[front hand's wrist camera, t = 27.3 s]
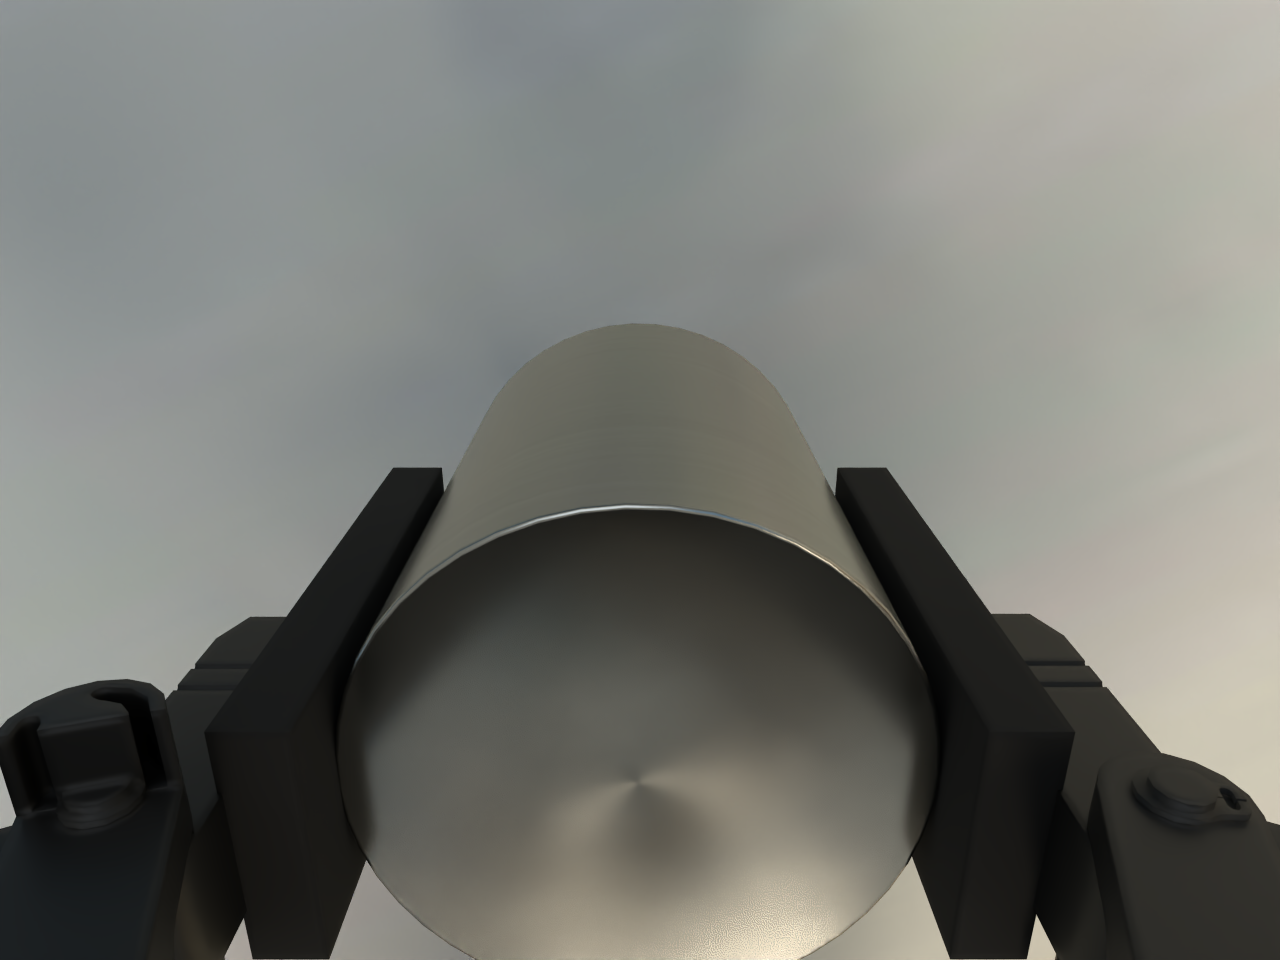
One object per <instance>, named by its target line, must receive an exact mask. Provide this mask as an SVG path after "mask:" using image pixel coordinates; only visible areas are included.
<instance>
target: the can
mask: <svg viewBox="0 0 1280 960" xmlns="http://www.w3.org/2000/svg"><path fill="white" fill-rule="evenodd" d="M940 754H941V735H940V728H939V721H938V713H937V706H936V702H935V699H934V696H933V693H932V689H931V686H930V683H929V680H928V677H927V673H926V671H925V669H924V667H923V665H922V663H921V661H920V659H919V657H918V655H917V653H916V651H915V649H914V647H913V645H912V643H911V641H910V639H909V637H908V635H907V633H906V631H905V629H904V627H903V625H902V624H901V622H900V620H899V618H898V616H897V614H896V612H895V610H894V608H893V606H892V604H891V603H890V601H889V599H888V597H887V595H886V593H885V591H884V589H883V587H882V585H881V583H880V582H879V580H878V578H877V576H876V574H875V572H874V570H873V568H872V566H871V564H870V562H869V561H868V559H867V557H866V555H865V553H864V551H863V549H862V547H861V545H860V543H859V541H858V539H857V538H856V536H855V534H854V532H853V530H852V528H851V526H850V524H849V522H848V520H847V518H846V517H845V515H844V513H843V511H842V509H841V507H840V505H839V503H838V501H837V499H836V497H835V496H834V494H833V492H832V490H831V488H830V486H829V484H828V482H827V480H826V478H825V476H824V475H823V473H822V471H821V469H820V467H819V465H818V463H817V461H816V459H815V457H814V455H813V453H812V452H811V450H810V448H809V446H808V444H807V442H806V440H805V438H804V436H803V434H802V432H801V431H800V429H799V427H798V425H797V423H796V421H795V419H794V417H793V415H792V413H791V411H790V410H789V408H788V406H787V404H786V403H785V401H784V400H783V398H782V397H781V395H780V394H779V392H778V391H777V390H776V388H775V387H774V386H773V385H772V384H771V382H770V381H769V380H768V379H767V378H766V377H765V376H764V375H763V374H762V373H761V372H760V371H759V370H758V369H757V368H756V367H755V366H753V365H752V364H751V363H750V362H749V361H747V360H746V359H745V358H744V357H743V356H741V355H739V354H738V353H736V352H735V351H733V350H731V349H730V348H728V347H727V346H725V345H723V344H721V343H719V342H717V341H715V340H712V339H710V338H708V337H706V336H703V335H701V334H698V333H694V332H691V331H688V330H684V329H681V328H676V327H670V326H663V325H657V324H624V325H614V326H607V327H602V328H598V329H594V330H590V331H586V332H583V333H580V334H578V335H575V336H573V337H570V338H567V339H565V340H563V341H561V342H559V343H557V344H555V345H553V346H552V347H550V348H548V349H546V350H544V351H543V352H541V353H540V354H539V355H537V356H536V357H535V358H533V359H532V360H530V361H529V362H528V363H526V364H525V365H524V366H523V367H522V368H521V369H520V370H519V371H518V372H517V373H516V374H515V375H514V376H513V377H512V378H511V379H510V380H509V381H508V382H507V383H506V385H505V386H504V387H503V388H502V390H501V391H500V392H499V394H498V395H497V396H496V398H495V399H494V401H493V403H492V404H491V406H490V408H489V410H488V411H487V413H486V415H485V417H484V419H483V420H482V422H481V424H480V426H479V428H478V430H477V432H476V434H475V435H474V437H473V439H472V441H471V443H470V445H469V447H468V449H467V450H466V452H465V454H464V456H463V458H462V460H461V462H460V463H459V465H458V467H457V469H456V471H455V473H454V475H453V477H452V478H451V480H450V482H449V484H448V486H447V488H446V490H445V492H444V493H443V495H442V497H441V499H440V501H439V503H438V505H437V507H436V508H435V510H434V512H433V514H432V516H431V518H430V520H429V522H428V523H427V525H426V527H425V529H424V531H423V533H422V535H421V537H420V538H419V540H418V542H417V544H416V546H415V548H414V550H413V552H412V553H411V555H410V557H409V559H408V561H407V563H406V565H405V567H404V568H403V570H402V572H401V574H400V576H399V578H398V580H397V582H396V583H395V585H394V587H393V589H392V591H391V593H390V595H389V597H388V598H387V600H386V602H385V604H384V606H383V608H382V610H381V612H380V613H379V615H378V617H377V619H376V621H375V623H374V625H373V627H372V628H371V630H370V632H369V634H368V636H367V638H366V640H365V642H364V643H363V645H362V647H361V649H360V651H359V653H358V655H357V657H356V659H355V661H354V664H353V666H352V669H351V671H350V674H349V676H348V679H347V682H346V684H345V687H344V689H343V693H342V698H341V703H340V707H339V712H338V717H337V722H336V738H335V757H336V764H337V771H338V778H339V785H340V792H341V797H342V803H343V807H344V811H345V814H346V818H347V821H348V824H349V826H350V828H351V830H352V833H353V835H354V837H355V839H356V841H357V844H358V846H359V848H360V850H361V852H362V854H363V855H364V857H365V858H366V860H367V861H368V863H369V865H370V866H371V868H372V869H373V871H374V872H375V874H376V876H377V877H378V879H379V880H380V881H381V882H382V883H383V884H384V886H385V887H386V888H387V889H388V890H389V892H390V893H391V894H392V895H393V896H394V898H395V899H396V900H397V901H398V902H399V903H400V904H401V905H402V906H403V907H404V908H405V909H406V910H407V911H408V912H409V913H410V914H412V915H413V916H414V917H415V918H416V919H417V920H418V921H419V922H420V923H421V924H422V925H424V926H425V927H426V928H428V929H429V930H430V931H432V932H433V933H435V934H436V935H437V936H439V937H440V938H441V939H443V940H444V941H446V942H447V943H448V944H450V945H451V946H453V947H455V948H457V949H458V950H460V951H462V952H464V953H465V954H467V955H469V956H471V957H472V958H474V959H476V960H800V959H802V958H804V957H806V956H808V955H810V954H812V953H813V952H815V951H817V950H818V949H820V948H821V947H823V946H824V945H826V944H827V943H829V942H830V941H832V940H833V939H835V938H837V937H838V936H840V935H841V934H842V933H844V932H845V931H846V930H847V929H848V928H850V927H851V926H852V925H853V924H854V923H856V922H857V921H858V920H859V919H860V918H862V917H863V916H864V915H865V914H866V913H867V912H868V911H869V910H870V909H871V908H872V907H873V906H874V905H875V904H876V903H877V902H878V901H879V900H880V899H881V898H882V897H883V895H884V894H885V893H886V892H887V891H888V890H889V889H890V888H891V886H892V885H893V883H894V882H895V881H896V879H897V878H898V877H899V875H900V874H901V872H902V871H903V870H904V868H905V867H906V865H907V864H908V862H909V861H910V859H911V857H912V855H913V853H914V851H915V849H916V847H917V845H918V844H919V842H920V840H921V838H922V836H923V834H924V831H925V828H926V825H927V822H928V820H929V817H930V814H931V811H932V808H933V805H934V801H935V795H936V790H937V785H938V779H939V774H940Z"/></svg>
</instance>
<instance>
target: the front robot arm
mask: <svg viewBox="0 0 1280 960" xmlns="http://www.w3.org/2000/svg"><path fill="white" fill-rule="evenodd" d="M443 493H444V487H443V475H442V468H393V469H392V470H391V472H390V473H389V474H388V476H387V477H386V479H385V480H384V481H383V483H382V484H381V486H380V487H379V488H378V490H377V491H376V493H375V494H374V495H373V497H372V498H371V499H370V501H369V502H368V504H367V505H366V506H365V508H364V509H363V511H362V512H361V513H360V515H359V516H358V518H357V519H356V520H355V522H354V523H353V525H352V526H351V527H350V529H349V530H348V532H347V533H346V534H345V536H344V537H343V539H342V540H341V541H340V543H339V544H338V546H337V547H336V548H335V550H334V551H333V553H332V554H331V555H330V557H329V558H328V560H327V561H326V562H325V564H324V565H323V566H322V568H321V569H320V571H319V572H318V573H317V575H316V576H315V578H314V579H313V580H312V582H311V583H310V585H309V586H308V587H307V589H306V590H305V592H304V593H303V594H302V596H301V597H300V599H299V600H298V601H297V603H296V604H295V606H294V607H293V608H292V610H291V611H290V613H289V614H288V615H287V617H249V618H248V619H246V620H245V621H243V622H241V623H240V624H238V625H237V626H235V627H234V628H232V629H230V630H229V631H227V632H226V633H224V634H223V635H221V636H219V637H218V638H216V639H215V641H214V642H213V643H212V644H211V645H210V647H209V648H208V649H207V650H206V651H205V653H204V654H203V655H202V656H201V658H200V659H199V660H198V661H197V662H196V664H195V669H191V670H190V671H189V672H188V673H187V675H186V676H185V677H184V678H183V679H182V681H181V682H180V683H179V684H178V690H173V692H172V693H171V694H170V695H169V696H168V698H167V699H166V700H165V697H164V693H162V692H161V691H160V690H158V689H157V688H156V687H154V686H153V685H152V684H150V683H145V682H140V681H135V680H129V679H121V680H105V681H96V682H92V683H87V684H83V685H79V686H75V687H71V688H67V689H64V690H62V691H59V692H57V693H54V694H52V695H50V696H47V697H45V698H43V699H40V700H38V701H35V702H33V703H32V704H30V705H29V706H27V707H26V708H24V709H23V710H21V711H20V712H18V713H17V714H15V715H14V716H12V717H11V718H9V719H8V720H7V721H6V722H5V723H4V724H3V725H2V726H1V728H0V767H1V770H2V773H3V776H4V779H5V783H6V786H7V789H8V792H9V795H10V798H11V801H12V804H13V807H14V811H15V814H16V819H15V821H14V823H13V825H12V826H9V827H5V828H2V829H0V960H225V957H224V956H225V954H226V952H227V950H228V948H229V946H230V944H231V942H232V940H233V938H234V936H235V934H236V932H237V930H238V928H239V926H240V924H241V922H242V920H243V918H244V921H245V925H246V930H247V935H248V939H249V944H250V949H251V953H252V958H253V959H329V958H330V956H331V953H332V950H333V948H334V945H335V942H336V940H337V937H338V934H339V932H340V929H341V926H342V923H343V921H344V918H345V915H346V913H347V910H348V907H349V905H350V902H351V899H352V897H353V894H354V891H355V888H356V886H357V883H358V880H359V878H360V875H361V872H362V870H363V867H364V864H365V862H366V858H365V857H364V855H363V854H362V852H361V850H360V848H359V846H358V844H357V841H356V839H355V837H354V835H353V833H352V830H351V828H350V826H349V824H348V821H347V818H346V814H345V811H344V807H343V803H342V797H341V792H340V785H339V778H338V771H337V764H336V757H335V738H336V722H337V717H338V712H339V707H340V703H341V698H342V693H343V689H344V687H345V684H346V682H347V679H348V676H349V674H350V671H351V669H352V666H353V664H354V661H355V659H356V657H357V655H358V653H359V651H360V649H361V647H362V645H363V643H364V642H365V640H366V638H367V636H368V634H369V632H370V630H371V628H372V627H373V625H374V623H375V621H376V619H377V617H378V615H379V613H380V612H381V610H382V608H383V606H384V604H385V602H386V600H387V598H388V597H389V595H390V593H391V591H392V589H393V587H394V585H395V583H396V582H397V580H398V578H399V576H400V574H401V572H402V570H403V568H404V567H405V565H406V563H407V561H408V559H409V557H410V555H411V553H412V552H413V550H414V548H415V546H416V544H417V542H418V540H419V538H420V537H421V535H422V533H423V531H424V529H425V527H426V525H427V523H428V522H429V520H430V518H431V516H432V514H433V512H434V510H435V508H436V507H437V505H438V503H439V501H440V499H441V497H442V495H443ZM835 497H836V499H837V501H838V503H839V505H840V507H841V509H842V511H843V513H844V515H845V517H846V518H847V520H848V522H849V524H850V526H851V528H852V530H853V532H854V534H855V536H856V538H857V539H858V541H859V543H860V545H861V547H862V549H863V551H864V553H865V555H866V557H867V559H868V561H869V562H870V564H871V566H872V568H873V570H874V572H875V574H876V576H877V578H878V580H879V582H880V583H881V585H882V587H883V589H884V591H885V593H886V595H887V597H888V599H889V601H890V603H891V604H892V606H893V608H894V610H895V612H896V614H897V616H898V618H899V620H900V622H901V624H902V625H903V627H904V629H905V631H906V633H907V635H908V637H909V639H910V641H911V643H912V645H913V647H914V649H915V651H916V653H917V655H918V657H919V659H920V661H921V663H922V665H923V667H924V669H925V671H926V673H927V677H928V680H929V683H930V686H931V689H932V693H933V696H934V699H935V702H936V706H937V713H938V721H939V728H940V735H941V754H940V774H939V779H938V785H937V790H936V795H935V801H934V805H933V808H932V811H931V814H930V817H929V820H928V822H927V825H926V828H925V831H924V834H923V836H922V838H921V840H920V842H919V844H918V845H917V847H916V849H915V851H914V853H913V855H912V858H913V860H914V863H915V866H916V868H917V871H918V874H919V876H920V879H921V882H922V885H923V887H924V890H925V893H926V895H927V898H928V901H929V903H930V906H931V909H932V911H933V914H934V917H935V920H936V922H937V925H938V928H939V930H940V933H941V936H942V938H943V941H944V944H945V946H946V949H947V952H948V955H949V957H950V959H1027V955H1028V950H1029V946H1030V941H1031V936H1032V932H1033V927H1034V922H1035V918H1036V914H1037V916H1038V918H1039V920H1040V922H1041V924H1042V926H1043V928H1044V930H1045V932H1046V934H1047V936H1048V938H1049V940H1050V942H1051V944H1052V946H1053V948H1054V950H1055V952H1056V957H1055V960H1280V825H1278V824H1274V823H1271V822H1267V821H1266V819H1265V817H1264V815H1263V814H1262V812H1261V811H1260V810H1259V808H1258V807H1257V805H1256V804H1255V803H1254V801H1253V800H1252V799H1251V797H1250V796H1249V795H1248V794H1247V793H1245V792H1244V791H1243V790H1241V789H1240V788H1239V787H1238V786H1236V785H1235V784H1234V783H1232V782H1231V781H1230V780H1228V779H1227V778H1226V777H1224V776H1222V775H1220V774H1218V773H1216V772H1214V771H1212V770H1210V769H1208V768H1206V767H1204V766H1202V765H1200V764H1198V763H1195V762H1193V761H1189V760H1186V759H1182V758H1178V757H1175V756H1171V755H1168V754H1164V753H1161V752H1160V751H1159V750H1158V749H1157V747H1156V746H1155V745H1154V744H1153V743H1152V741H1151V740H1150V739H1149V738H1148V737H1147V735H1146V734H1145V733H1144V732H1143V730H1142V729H1141V728H1140V727H1139V726H1138V724H1137V723H1136V722H1135V721H1134V720H1133V718H1132V717H1131V716H1130V715H1129V714H1128V712H1127V711H1126V710H1125V709H1124V708H1123V706H1122V705H1121V704H1120V703H1119V702H1118V700H1117V699H1116V698H1115V697H1114V695H1113V694H1112V693H1111V692H1110V691H1109V689H1108V688H1107V687H1103V686H1102V681H1101V680H1100V679H1099V677H1098V676H1097V675H1096V674H1095V673H1094V671H1093V670H1092V669H1091V668H1090V667H1089V666H1085V660H1084V659H1083V658H1082V657H1081V656H1080V654H1079V653H1078V652H1077V651H1076V650H1075V648H1074V647H1073V646H1072V645H1071V644H1070V642H1069V641H1068V640H1067V639H1066V638H1065V636H1064V635H1062V634H1061V633H1059V632H1057V631H1056V630H1054V629H1053V628H1051V627H1049V626H1048V625H1046V624H1045V623H1043V622H1042V621H1040V620H1038V619H1037V618H1035V617H1034V616H1032V615H1030V614H991V613H990V612H989V611H988V609H987V608H986V606H985V605H984V604H983V602H982V601H981V599H980V598H979V597H978V595H977V594H976V592H975V591H974V590H973V588H972V587H971V585H970V584H969V583H968V581H967V580H966V578H965V577H964V576H963V574H962V573H961V571H960V570H959V569H958V567H957V566H956V564H955V563H954V562H953V560H952V559H951V557H950V556H949V555H948V553H947V552H946V550H945V549H944V548H943V546H942V545H941V544H940V542H939V541H938V539H937V538H936V537H935V535H934V534H933V532H932V531H931V530H930V528H929V527H928V525H927V524H926V523H925V521H924V520H923V518H922V517H921V516H920V514H919V513H918V511H917V510H916V509H915V507H914V506H913V504H912V503H911V502H910V500H909V499H908V497H907V496H906V495H905V493H904V492H903V490H902V489H901V488H900V486H899V485H898V483H897V482H896V481H895V479H894V478H893V476H892V475H891V474H890V472H889V471H888V469H887V468H838V469H837V481H836V492H835Z"/></svg>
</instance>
